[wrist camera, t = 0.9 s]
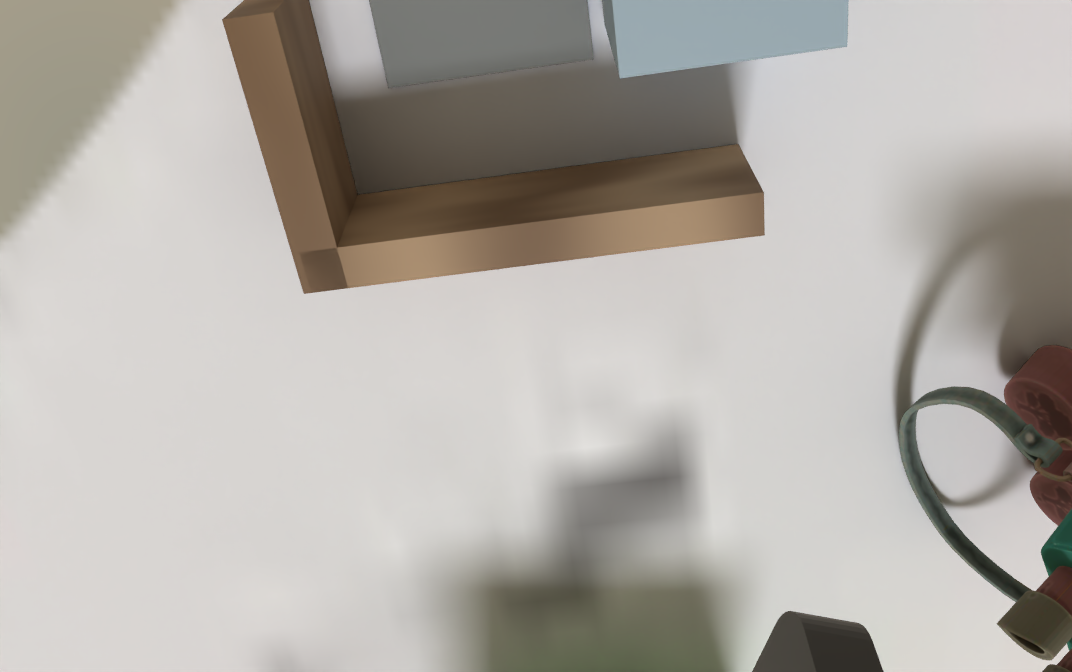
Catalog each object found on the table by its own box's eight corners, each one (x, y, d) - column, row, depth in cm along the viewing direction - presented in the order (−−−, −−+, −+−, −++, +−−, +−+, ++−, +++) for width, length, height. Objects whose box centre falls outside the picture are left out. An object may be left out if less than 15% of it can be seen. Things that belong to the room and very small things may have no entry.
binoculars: (1015, 485, 37) (1325, 607, 28) (854, 651, 34) (1143, 839, 26) (957, 288, 32) (1303, 364, 24) (768, 461, 30) (1083, 614, 22)
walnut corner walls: (730, -83, 25) (758, -60, 22) (739, 183, 28) (764, 235, 25) (258, -13, 25) (222, 19, 22) (327, 237, 29) (303, 293, 26)
